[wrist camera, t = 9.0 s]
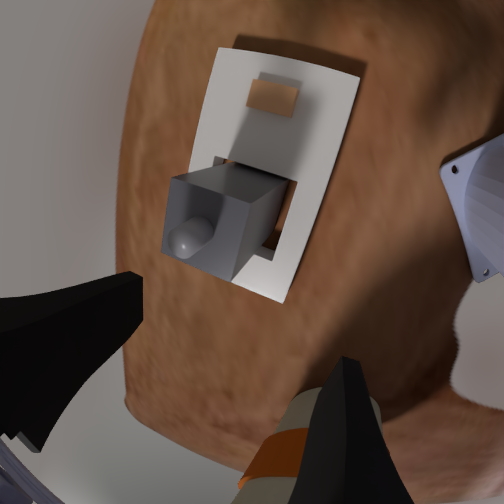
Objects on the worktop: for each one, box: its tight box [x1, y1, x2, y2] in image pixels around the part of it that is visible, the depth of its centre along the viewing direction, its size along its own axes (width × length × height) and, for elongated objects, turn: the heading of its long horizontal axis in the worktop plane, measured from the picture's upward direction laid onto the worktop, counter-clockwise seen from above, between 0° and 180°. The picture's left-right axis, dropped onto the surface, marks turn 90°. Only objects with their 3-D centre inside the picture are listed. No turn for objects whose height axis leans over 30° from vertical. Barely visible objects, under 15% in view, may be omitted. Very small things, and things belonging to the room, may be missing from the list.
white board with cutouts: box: [188, 47, 360, 303], centre depth 16 cm, size 14×8×2 cm, turn 165°
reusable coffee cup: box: [231, 387, 390, 504], centre depth 16 cm, size 13×13×15 cm
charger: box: [161, 162, 289, 282], centre depth 14 cm, size 4×4×8 cm
